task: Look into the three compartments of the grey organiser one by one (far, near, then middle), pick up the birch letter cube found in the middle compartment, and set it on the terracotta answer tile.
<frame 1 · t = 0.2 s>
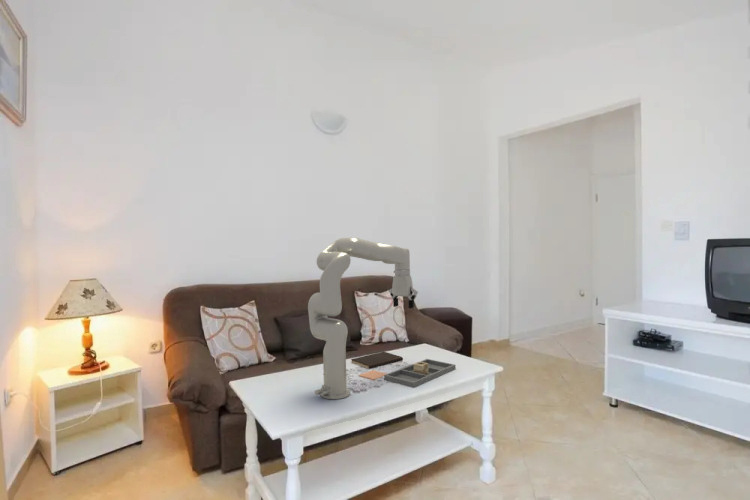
hand: (403, 307, 207), 31 cm above the table, tool pointing down, fingers open, 9 cm apart
terracotta tile: (373, 375, 197), on the table
birch cube: (421, 368, 197), in the grey organiser
hardcover book: (377, 362, 221), on the table
grey organiser: (421, 374, 197), on the table
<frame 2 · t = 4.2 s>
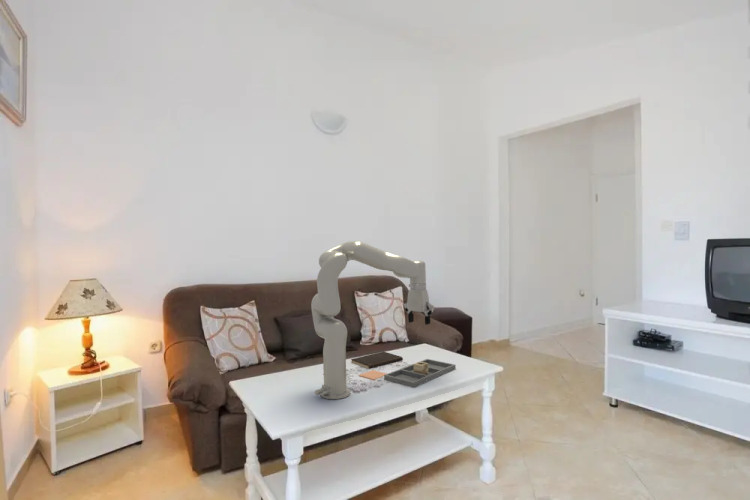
hand: (419, 323, 196), 25 cm above the table, tool pointing down, fingers open, 9 cm apart
nothing on the table moved.
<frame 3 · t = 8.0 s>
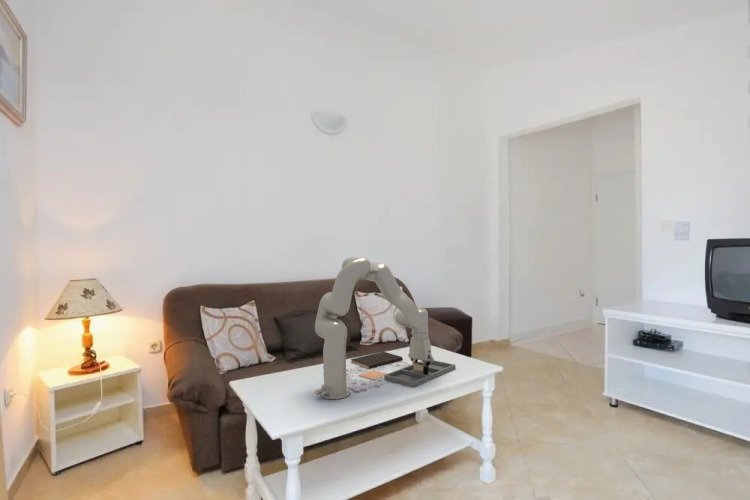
hand: (421, 372, 197), 1 cm above the table, tool pointing down, fingers closed on birch cube, 4 cm apart
birch cube: (421, 368, 197), in the grey organiser, touching gripper
everything else where it was.
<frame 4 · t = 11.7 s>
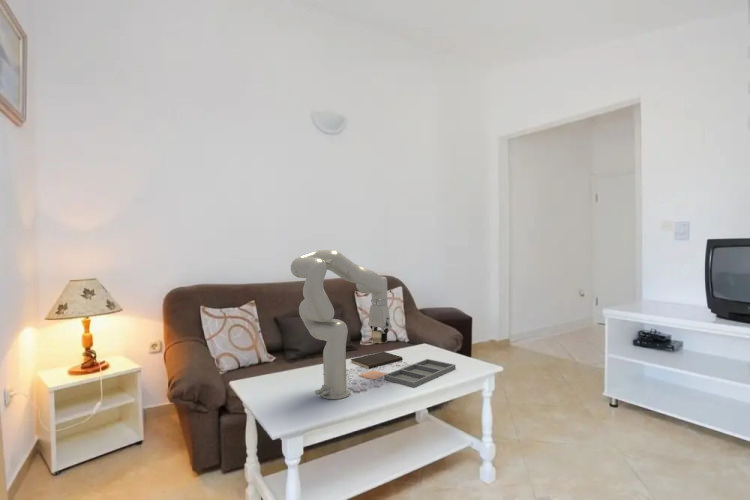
hand: (379, 340, 197), 17 cm above the table, tool pointing down, fingers closed on birch cube, 4 cm apart
birch cube: (380, 336, 197), point 19 cm above the table, touching gripper
everything else where it was.
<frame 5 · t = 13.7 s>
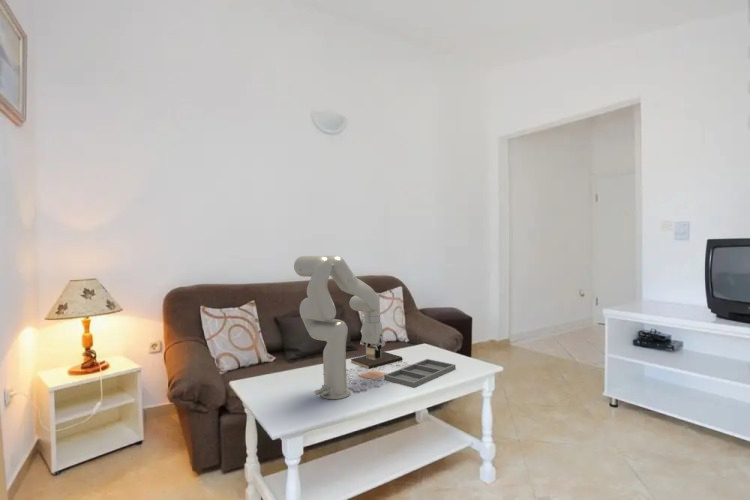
hand: (373, 356, 197), 9 cm above the table, tool pointing down, fingers closed on birch cube, 4 cm apart
birch cube: (373, 352, 197), point 11 cm above the table, touching gripper
everything else where it was.
when the fingers open (3 cm above the table, at t = 15.3 s): birch cube drops 2 cm, resting on terracotta tile.
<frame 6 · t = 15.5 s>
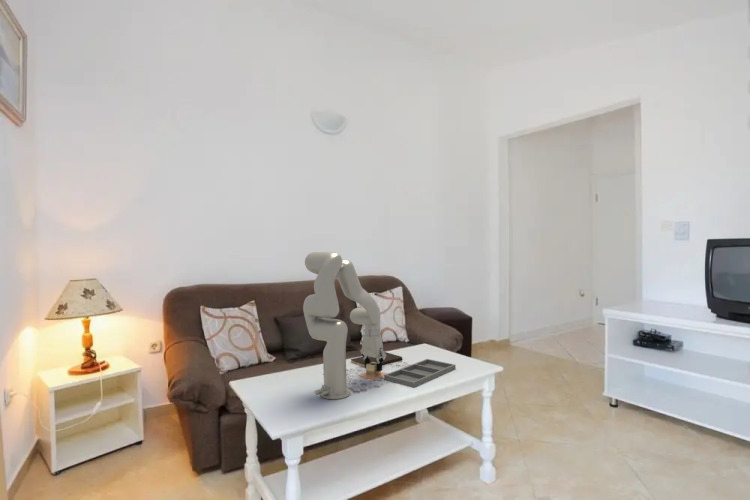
hand: (373, 369, 197), 3 cm above the table, tool pointing down, fingers open, 7 cm apart
birch cube: (373, 369, 197), on the terracotta tile, point 3 cm above the table
everything else where it was.
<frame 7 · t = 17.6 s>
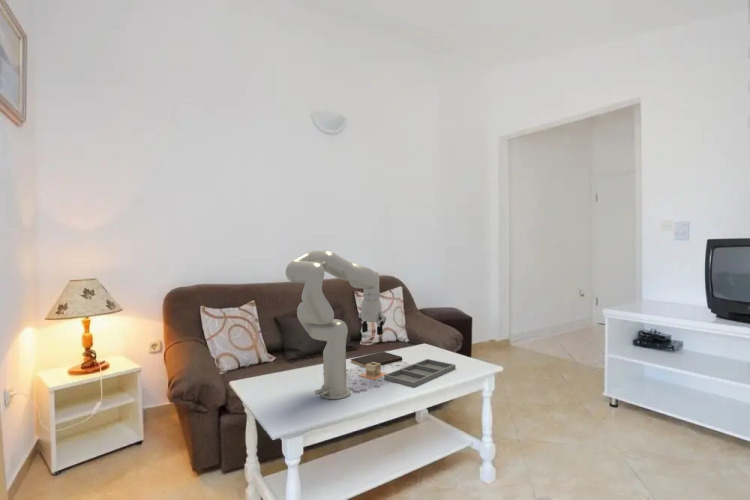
hand: (372, 333, 197), 20 cm above the table, tool pointing down, fingers open, 9 cm apart
nothing on the table moved.
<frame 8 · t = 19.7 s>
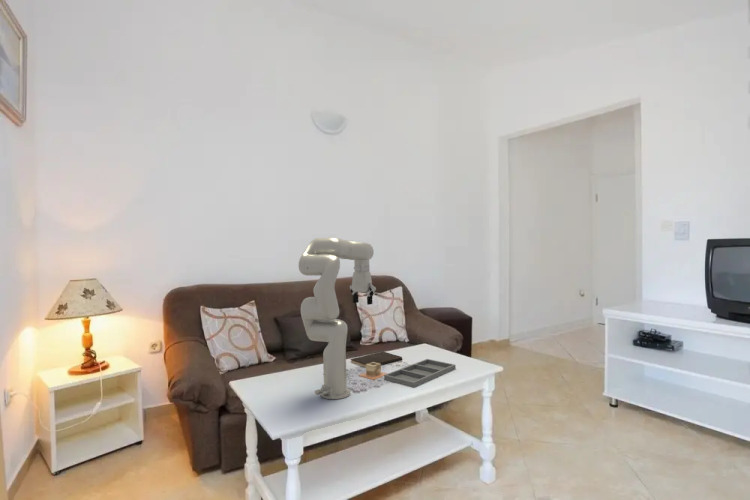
hand: (362, 303, 206), 33 cm above the table, tool pointing down, fingers open, 9 cm apart
nothing on the table moved.
at the end: birch cube inside the target area (0.0 cm from its centre), point 3.1 cm above the table; birch cube tilted 0°; the gripper is holding nothing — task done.
